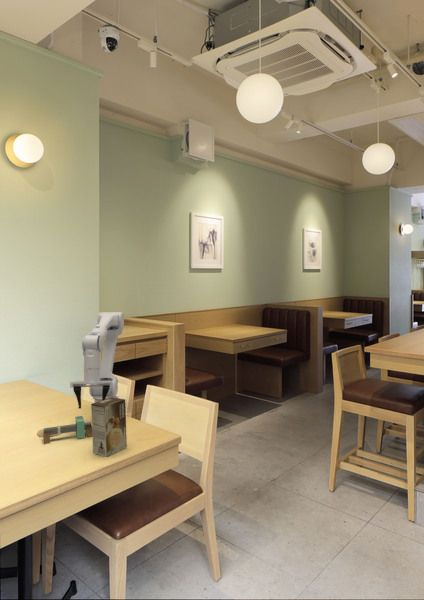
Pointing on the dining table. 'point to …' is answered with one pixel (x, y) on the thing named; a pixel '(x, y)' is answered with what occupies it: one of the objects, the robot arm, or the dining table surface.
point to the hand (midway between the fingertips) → (91, 407)
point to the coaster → (40, 433)
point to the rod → (65, 431)
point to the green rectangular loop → (80, 427)
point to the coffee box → (109, 426)
